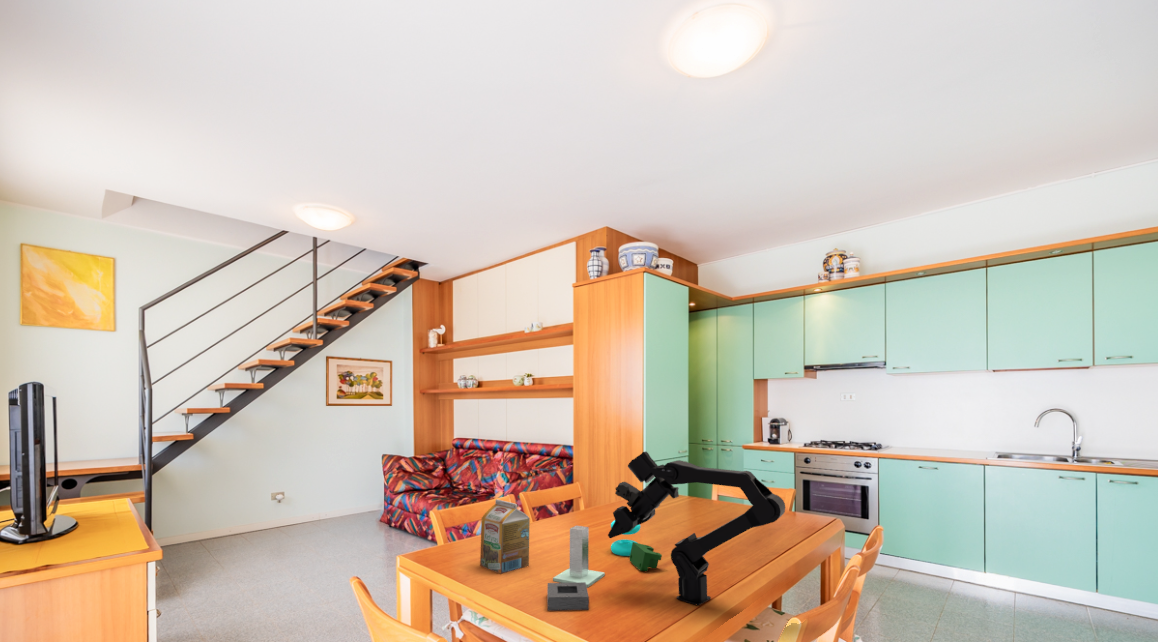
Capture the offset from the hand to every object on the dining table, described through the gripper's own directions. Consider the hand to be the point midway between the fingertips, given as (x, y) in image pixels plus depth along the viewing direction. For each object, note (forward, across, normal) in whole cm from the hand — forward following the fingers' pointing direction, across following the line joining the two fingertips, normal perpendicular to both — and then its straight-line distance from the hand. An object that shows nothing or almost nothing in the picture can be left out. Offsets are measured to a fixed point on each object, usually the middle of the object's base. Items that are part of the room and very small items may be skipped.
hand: (615, 532), depth 147 cm
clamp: (+8, -19, +11) cm, 23 cm away
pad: (+18, +1, +2) cm, 18 cm away
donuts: (+16, -29, +3) cm, 33 cm away
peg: (+17, +1, +1) cm, 17 cm away
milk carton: (+36, +2, -16) cm, 39 cm away
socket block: (+14, +18, +6) cm, 23 cm away
